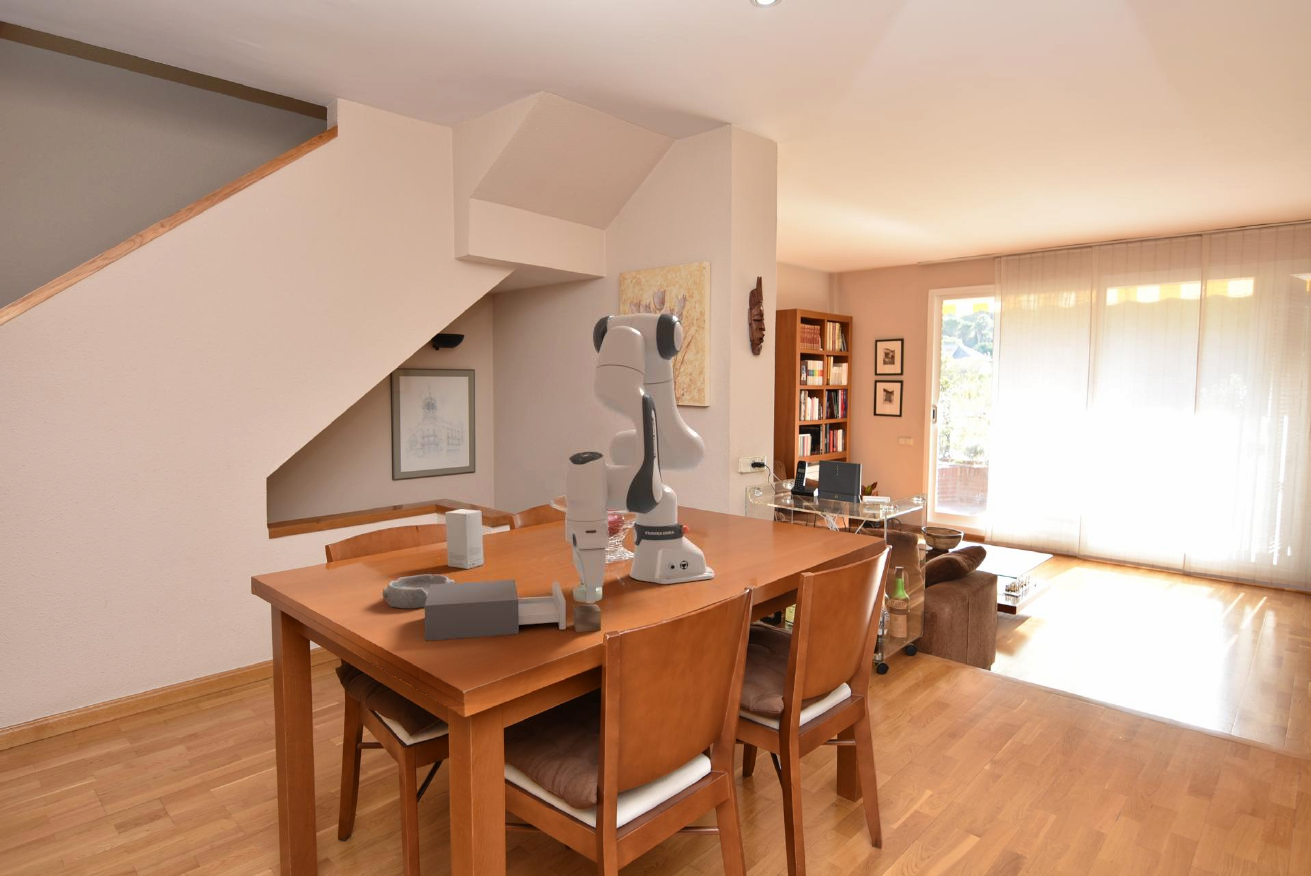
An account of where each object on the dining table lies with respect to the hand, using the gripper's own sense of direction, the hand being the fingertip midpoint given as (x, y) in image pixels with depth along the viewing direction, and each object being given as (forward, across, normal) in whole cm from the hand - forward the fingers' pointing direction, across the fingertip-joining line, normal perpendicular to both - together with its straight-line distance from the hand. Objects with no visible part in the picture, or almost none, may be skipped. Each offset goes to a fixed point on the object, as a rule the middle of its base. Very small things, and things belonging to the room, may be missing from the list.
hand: (587, 596), depth 149 cm
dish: (+7, -27, -36) cm, 46 cm away
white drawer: (+6, -6, -14) cm, 16 cm away
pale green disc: (0, 0, 0) cm, 0 cm away
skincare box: (+7, -60, -26) cm, 66 cm away
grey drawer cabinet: (+6, -6, -23) cm, 25 cm away
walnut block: (+6, +1, 0) cm, 6 cm away
